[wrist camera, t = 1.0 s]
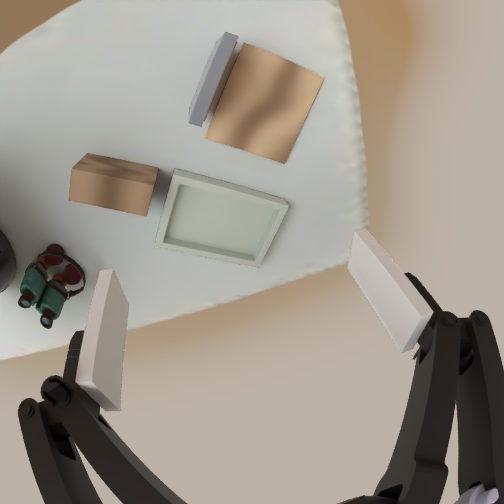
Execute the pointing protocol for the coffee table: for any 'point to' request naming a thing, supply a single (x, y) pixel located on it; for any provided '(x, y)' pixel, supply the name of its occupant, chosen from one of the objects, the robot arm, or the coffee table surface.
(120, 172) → the block
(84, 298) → the coffee table surface
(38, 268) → the binoculars
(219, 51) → the grey square tile
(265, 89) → the cork mat
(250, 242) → the tray
